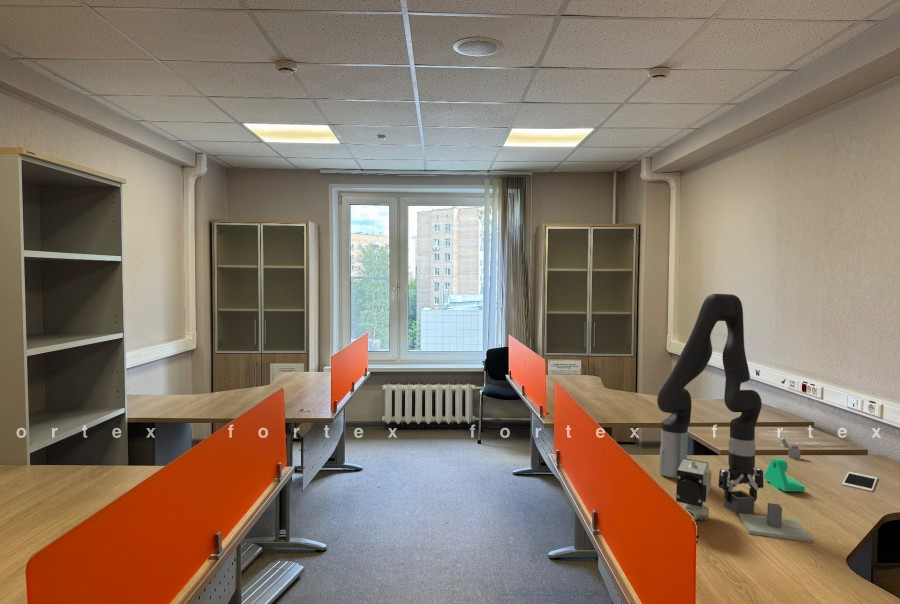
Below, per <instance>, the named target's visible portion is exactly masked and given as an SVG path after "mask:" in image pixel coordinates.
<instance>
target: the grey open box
mask: <svg viewBox="0 0 900 604" xmlns="http://www.w3.org/2000/svg"><path fill="white" fill-rule="evenodd" d="M731 492H732V503H728V502H727V501H726V500H725V499H724V507H725V508H726V509H728V510H730V511H731V512H733V513H734V514H735V515H740V513H742V514H755V502H754V499H755V498H754V497H752V496H750V494H749V492H747V491H745V490H732V491H731Z"/></svg>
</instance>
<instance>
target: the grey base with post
mask: <svg viewBox="0 0 900 604" xmlns="http://www.w3.org/2000/svg"><path fill="white" fill-rule="evenodd" d="M766 513H767V515H766V516H764V515H756V514H751V513H749V514H742V513H740V514H739V518H740V520H741V522H742V523H743V525H744V527H745V529H746V530H747V533H748V534H750V535H756V536H763V537H764V536H765V537H772V538H779V539H785V540H786V539H787V540H792V541H793V540H794V541H800V542H807V543H808V542H809V543H812V542H813V538H812V536H811V535H810V534H809V532H808V531H807V530H806V529H805V528H804V527H803V525H802V524H801V523H800V521H799V520H796V519H790V518H789V519H788V518H783V507H782V506H781V505H780V504H779V503H771V502H767V512H766Z"/></svg>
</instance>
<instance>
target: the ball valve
mask: <svg viewBox="0 0 900 604" xmlns="http://www.w3.org/2000/svg"><path fill="white" fill-rule="evenodd" d="M711 488H712V469H711V468H709V462H707V461H701V460H696V459H690V458H687V459H685V458H684V460H683V461H682V463H681V465H680V467H679V469H678V470H677V478H676V488H675V489H676V494H675V495H676V496H675V497H676V498H675V501H676V502H678V503H681V504H684V505H683V507H684V508H685V510H687V511H688V512H689V513H690V514H691V515H692V516H693V517H694V519H695V521H697V520H699V521H700V520H701V521H703V520H705V521H708V519H709V513H710V512H709V510H710V508H709V506H706V505H704V503H707V499H708V496H709V494H710V491H711Z"/></svg>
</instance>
